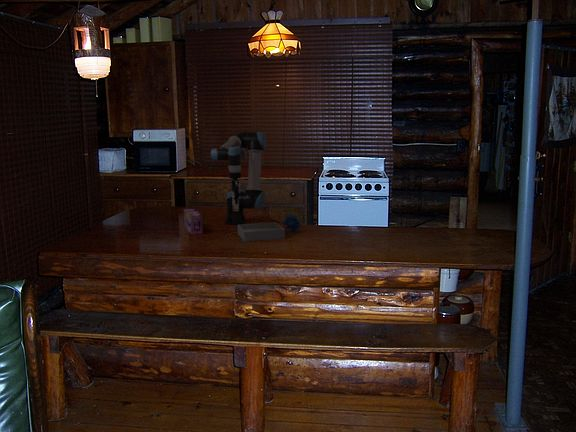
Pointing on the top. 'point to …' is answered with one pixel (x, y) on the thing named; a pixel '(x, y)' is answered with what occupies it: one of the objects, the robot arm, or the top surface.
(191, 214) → the gum box
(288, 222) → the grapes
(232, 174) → the robot arm
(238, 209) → the peg
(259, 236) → the box
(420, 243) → the top surface
